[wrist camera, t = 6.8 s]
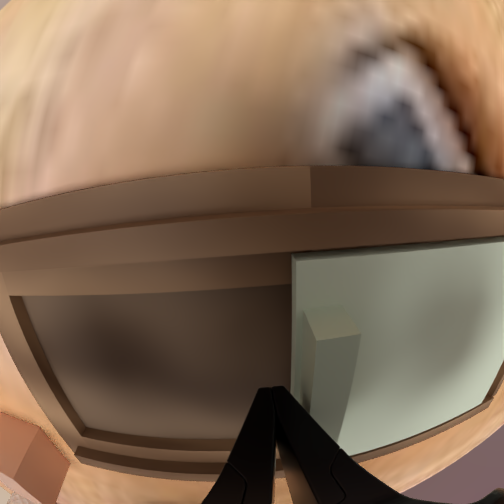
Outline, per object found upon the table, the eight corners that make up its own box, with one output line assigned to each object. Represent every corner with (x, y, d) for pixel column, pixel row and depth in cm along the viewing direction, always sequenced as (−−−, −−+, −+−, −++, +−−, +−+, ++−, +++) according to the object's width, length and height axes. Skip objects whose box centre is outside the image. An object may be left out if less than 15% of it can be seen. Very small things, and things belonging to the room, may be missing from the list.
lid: (476, 397, 12) (493, 417, 10) (287, 456, 12) (293, 492, 9) (530, 234, 9) (561, 246, 7) (291, 253, 8) (310, 286, 6)
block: (70, 463, 14) (52, 511, 9) (30, 448, 14) (10, 489, 9) (40, 426, 13) (13, 479, 7) (1, 411, 12) (-26, 454, 7)
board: (470, 403, 14) (481, 418, 12) (84, 450, 13) (77, 468, 11) (532, 184, 9) (554, 189, 7) (-19, 215, 8) (-45, 224, 6)
